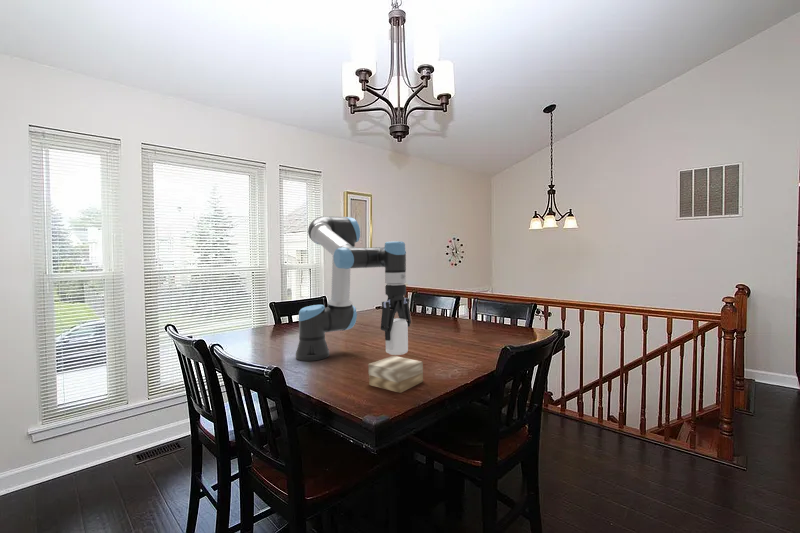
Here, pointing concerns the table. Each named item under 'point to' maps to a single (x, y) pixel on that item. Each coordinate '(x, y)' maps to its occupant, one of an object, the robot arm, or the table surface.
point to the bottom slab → (395, 383)
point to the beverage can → (399, 337)
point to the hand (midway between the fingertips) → (396, 346)
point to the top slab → (395, 368)
